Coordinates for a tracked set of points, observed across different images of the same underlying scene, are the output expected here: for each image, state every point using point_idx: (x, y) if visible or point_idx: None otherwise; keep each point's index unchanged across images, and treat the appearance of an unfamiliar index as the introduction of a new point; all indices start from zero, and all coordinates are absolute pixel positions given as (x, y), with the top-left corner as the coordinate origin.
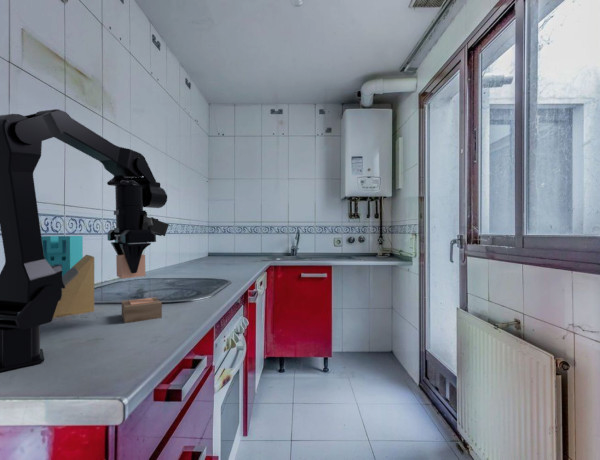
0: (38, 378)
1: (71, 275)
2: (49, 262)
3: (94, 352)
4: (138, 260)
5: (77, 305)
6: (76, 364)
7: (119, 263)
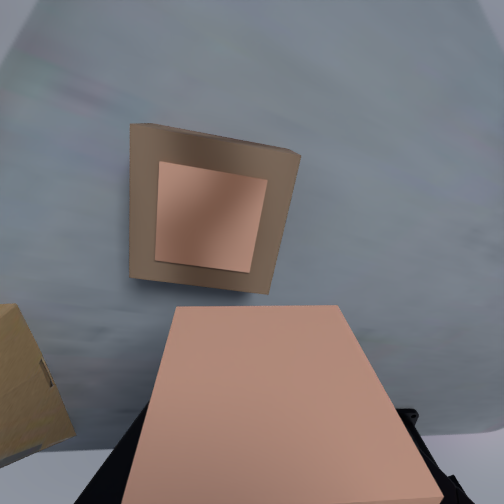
0: (472, 411)
1: None
2: None
3: (439, 353)
4: (434, 478)
5: (17, 366)
6: (470, 377)
7: None
